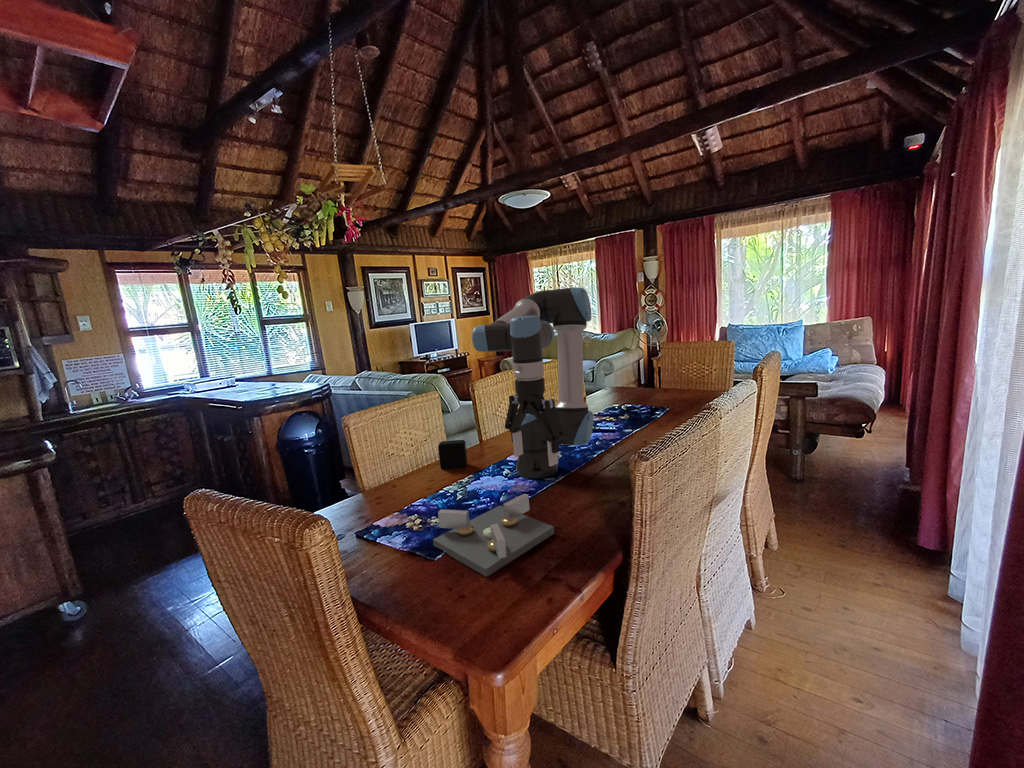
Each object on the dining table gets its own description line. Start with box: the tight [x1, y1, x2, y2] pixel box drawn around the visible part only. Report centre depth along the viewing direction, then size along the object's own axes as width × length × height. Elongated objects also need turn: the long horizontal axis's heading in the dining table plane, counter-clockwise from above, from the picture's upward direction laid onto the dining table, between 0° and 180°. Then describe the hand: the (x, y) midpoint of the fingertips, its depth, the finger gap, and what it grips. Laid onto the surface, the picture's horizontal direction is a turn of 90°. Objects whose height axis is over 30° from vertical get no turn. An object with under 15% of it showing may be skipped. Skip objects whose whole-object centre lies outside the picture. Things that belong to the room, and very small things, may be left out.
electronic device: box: [437, 439, 468, 470], centre depth 173 cm, size 4×10×10 cm, turn 89°
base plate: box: [432, 505, 555, 578], centre depth 117 cm, size 24×21×3 cm
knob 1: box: [437, 509, 474, 536], centre depth 118 cm, size 9×4×6 cm, turn 74°
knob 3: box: [502, 493, 531, 527], centre depth 122 cm, size 9×4×6 cm, turn 134°
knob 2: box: [487, 524, 507, 559], centre depth 107 cm, size 9×4×6 cm, turn 14°
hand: (535, 459), depth 116 cm, fingers open, 12 cm apart
